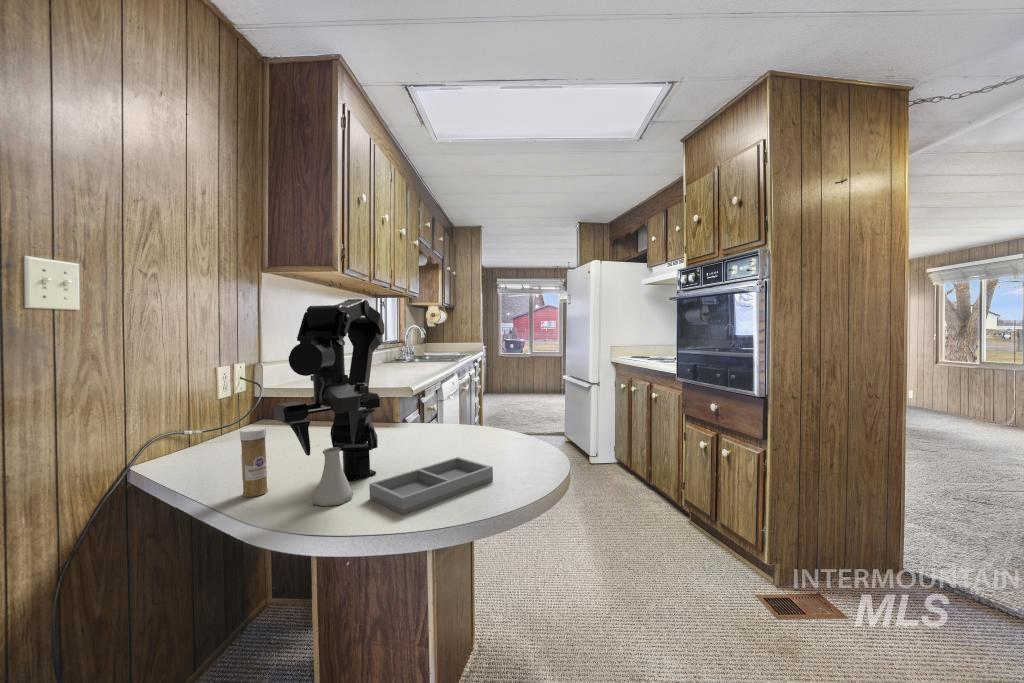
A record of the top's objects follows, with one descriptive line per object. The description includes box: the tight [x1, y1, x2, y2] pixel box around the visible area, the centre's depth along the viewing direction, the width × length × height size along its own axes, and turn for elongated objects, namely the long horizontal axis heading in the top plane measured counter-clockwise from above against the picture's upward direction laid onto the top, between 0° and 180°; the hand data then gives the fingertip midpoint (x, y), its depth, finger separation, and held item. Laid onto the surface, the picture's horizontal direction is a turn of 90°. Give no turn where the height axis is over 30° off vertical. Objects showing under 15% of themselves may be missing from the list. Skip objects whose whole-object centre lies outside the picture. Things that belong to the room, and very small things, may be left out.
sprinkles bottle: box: [239, 426, 269, 498], centre depth 90 cm, size 5×5×14 cm
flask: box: [312, 447, 354, 507], centre depth 85 cm, size 7×7×10 cm
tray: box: [368, 456, 494, 516], centre depth 90 cm, size 12×22×3 cm, turn 137°
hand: (332, 449), depth 85 cm, fingers open, 9 cm apart
